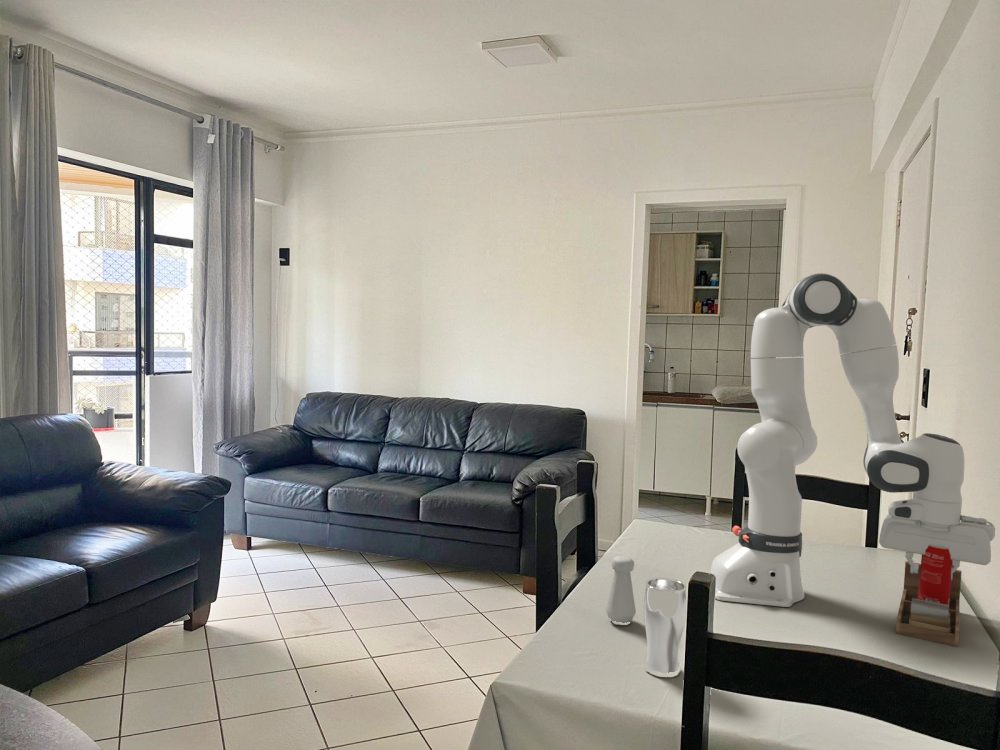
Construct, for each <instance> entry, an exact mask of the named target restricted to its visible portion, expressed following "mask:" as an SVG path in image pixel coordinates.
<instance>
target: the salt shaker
mask: <svg viewBox="0 0 1000 750" xmlns="http://www.w3.org/2000/svg"><path fill="white" fill-rule="evenodd" d="M611 567H612V569H613V577H612V581H611V584H610V589H609V593H608V597H607V601H606V605H605V612H606V615H607V617H608V619H609V618H610V619H611V620H612V621H616V622H622V623H625V622H626V623H627V622H631V621H633V619H634V617H635V615H636V614H637V613H636V604H635V603H636V602H635V596H634V590H633V583H632V575H631V572H633V571H634V569H635V561H634V560H633V558H631V557H630V556H626V555H625V556H624V555H617V556H615V557H613V559H612V561H611ZM631 623H632V622H631Z"/></svg>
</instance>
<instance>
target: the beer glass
mask: <svg viewBox="0 0 1000 750" xmlns="http://www.w3.org/2000/svg"><path fill="white" fill-rule="evenodd" d="M645 585H646V586H645V593H644V604H643V617H644V619H643V621H644V628H645V635H646V636H645V637H646V648H647V649H646V655H645V659H644V660H645V661H644V664H646V665H647V667H649V668H650V669H652V670H654V671H657V672H661V673H667V672H668V673H669V672H675V671H677V670H678V669H679V667H680V659H679V655H680V645H681V641H682V637H683V632H684V628H685V624H686V623H685V622H686V616H687V615H686V614H687V613H686V612H687V594H686V593H687V592H686V591H687V590H686V588H687V586H686V584H685V583H684V582H682V581H679V580H677V579H674V578H668V577H653V578H649V579H647V580H646V583H645ZM680 668H681V667H680Z"/></svg>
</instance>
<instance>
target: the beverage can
mask: <svg viewBox="0 0 1000 750" xmlns="http://www.w3.org/2000/svg"><path fill="white" fill-rule="evenodd" d="M920 560H921V561H920V564H921V568H920V579H919V589H918V599H920V600H925V601H930V602H935V603H940V604H945V605H949V601H950V591H951V574H952V568H953V565H952V562H953V560H951V554H950V552H949V548H941V547H935V546H931V545H928V548H927V549H926V550H925V554H924V555H922V554H921V559H920Z"/></svg>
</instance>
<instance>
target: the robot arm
mask: <svg viewBox="0 0 1000 750" xmlns="http://www.w3.org/2000/svg"><path fill="white" fill-rule="evenodd" d="M820 326H821V327H823V326H826V327H828V328H829V329H830V330H832V331H833V333H834V335H835V337H836V340H837V344H838V349H839V354H840V355H839V356H840V360H841V365H842V367H843V371H844V374H845V376H846V379H847V381H848V383H849V386H850V387H851V389H852V390H853V391H854V393H855V394H856V396H857V399H858V400H859V402H860V405H861V409H862V415H863V420H864V423H865V424H864V425H865V428H866V429H865V430H866V436H867V445H866V448H865V451H864V456H863V467H864V471H865V472H866V475H867V477H868V479H869V481H870V483H871V484H872V485H873V486H874V487H875V488H876V489H878V490H880V491H883V492H887V493H892V494H893V493H894V494H896V493H912V498H910V499H902V500H895V501H892V502H890V504H889V505H888V508H887V512H888V514H886V516H885V518H884V519H883V521H882V525H881V527H880V533H879V540H878V543H879V545H880V547H881V548H884V549H889V550H893V551H899V552H905V558H906V561H908V562H909V564H910V565H911V569H910V573H912V574H918V571H919V570H918V569H919V565H918V564H915V563H916V562H915V561H914V559H913V558H914V554H916V555H921V556H922V555H924V554H925V550H926V549H927V548H928V545H931V546H935V547H941V548H949V552H950V554H951V560H953V562H952V565H953V568H952V574H951V581H952V577H953V573H954V572H955V571H956V570H959V567H961V565H960V564H961V562H964V563H970V564H975V565H981V566H987V565H988V564H990V563H991V562H992V560H991V559H992V551H991V550H992V549H991V541H993V540H994V538H995V537H996V528H995V525H994V524H993V523H992V522H990V521H988V519H985V518H982V517H973V516H969V515H962V504H963V498H962V493H961V488H962V486H963V483H964V480H965V479H964V478H965V453H964V449H963V446H962V444H960V442H958V441H957V440H955V439H954V438H950V437H947V436H944V435H940V434H936V433H927V432H926V433H922V434H921V435H920V436H918V437H915V438H914V439H911V440H908V441H905V442H903V440H902V439H901V437H900V434H899V430H898V429H899V428H898V424H897V419H896V412H895V408H894V391H895V387H896V385H897V383H898V379H899V376H900V375H899V372H900V367H899V366H900V363H899V362H900V361H899V360H900V359H899V358H900V357H899V351H898V345H897V341H896V337H895V333H894V330H893V327H892V323H891V321H890V318H889V316H888V313H887V311H886V309H885V306H884V304H882V303H881V302H880V301H879V300H876V299H873V298H867V297H866V298H865V297H862V298H857V297H856V295H855V294H854V293H853V292H852V291H851V290H850V289H849V288H848V287H847V286H846V285H845V283H843V281H842V280H840V279H839V278H837V277H836V276H834V275H832V274H828V273H815V274H811V275H808V276H806V277H804V278H802V279H800V280H799V281H798V282H796V283H795V284H794V286H793V287H792V289H791V290H790V291H789V293H788V294H787V296H786V298H785V300H784V301H783V303H782V305H781V306H780V307H771V308H767V309H764V310H763V311H761V312H760V313H758V314H757V315H756V317H755V318H754V320H753V327H752V331H751V332H752V333H751V341H750V343H751V344H750V384H751V385H750V386H751V387H750V389H751V390H750V391H751V394H752V397H753V398H754V399H755V401H756V404H757V407H758V411H759V415H760V419H761V422H758V423H755V424H753V425H751V427H749V428H748V429H746V430H745V431H744V432H743V433H742V434H741V435H740V437H739V439H738V440H737V441H738V442H737V445H736V446H737V448H736V450H737V455H738V457H739V459H740V461H741V463H742V464H743V465H744V469H745V475H746V480H747V485H748V496H749V497H748V517H747V519H748V520H747V525H746V526H745V527H744V528H741V527H740V526H738V525H734V526H733V527H732V529H731V532H732V534H733V535H734V536H737V537H738V542H737V543H736V544H733V546H731V547H729V548H727V549H726V550H725V551H723V552H721V553H720V554H718V555H716V556H715V557H714V559H713V561H712V563H711V566H710V571H709V574H710V573H712V574H714V575H715V576H716V578H717V582H716V597H715V598H714V599H715V600H718V601H724V602H731V603H732V602H733V603H734V602H735V603H742V604H743V603H744V604H750V605H751V604H754V605H762V606H763V605H764V606H773V607H782V608H790V607H792V605H793V604H795V603H797V602H799V601H802V600H803V599H805V591H804V586H803V581H802V574H801V564H800V563H801V561H800V558H801V557H802V550H803V533H802V532H801V527H802V526H801V525H802V509H803V508H802V507H803V498H802V495H801V493H800V491H799V489H798V484H797V478H796V477H797V476H796V467H797V466H799V465H802V464H804V463H805V462H807V461H808V460H809V459H810V457H812V456H813V454H814V453H815V451H816V450H817V447H818V437H817V436H818V435H817V433H816V431H815V430H814V428H813V426H812V423H811V416H810V413H809V408H808V403H807V399H806V391H805V363H804V361H805V359H804V357H805V356H804V340H805V335H806V333H807V331H808V330H809V329H810V328H813V327H820Z"/></svg>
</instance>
